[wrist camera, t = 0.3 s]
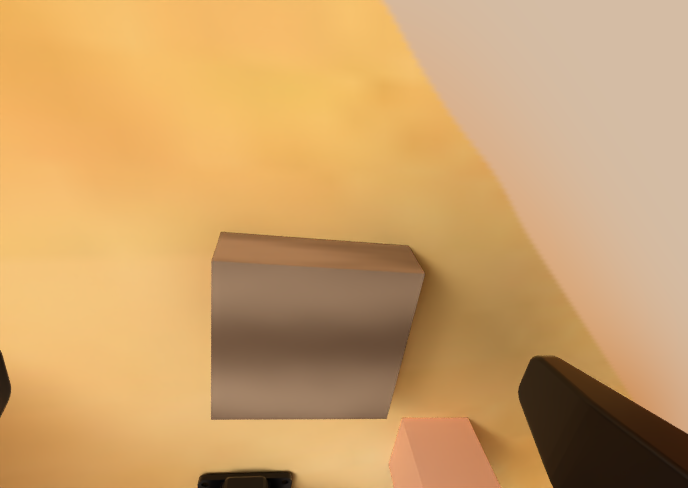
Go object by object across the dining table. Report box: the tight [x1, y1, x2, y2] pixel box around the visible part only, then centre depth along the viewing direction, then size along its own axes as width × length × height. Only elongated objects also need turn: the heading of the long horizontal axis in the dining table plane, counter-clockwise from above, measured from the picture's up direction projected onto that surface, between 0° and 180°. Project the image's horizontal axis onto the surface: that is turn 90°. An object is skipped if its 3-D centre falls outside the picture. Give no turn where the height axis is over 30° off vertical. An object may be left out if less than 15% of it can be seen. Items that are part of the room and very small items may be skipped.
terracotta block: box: [389, 418, 501, 488], centre depth 28 cm, size 5×5×6 cm
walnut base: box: [211, 232, 425, 420], centre depth 23 cm, size 10×10×3 cm
